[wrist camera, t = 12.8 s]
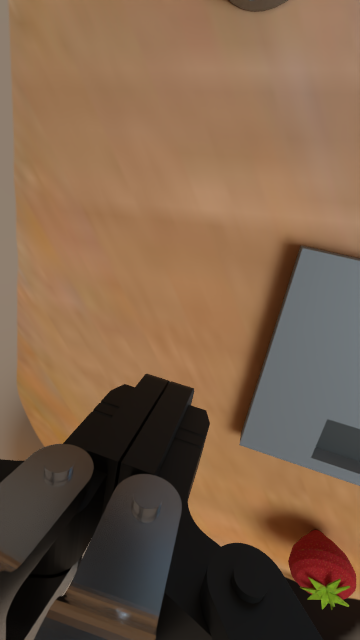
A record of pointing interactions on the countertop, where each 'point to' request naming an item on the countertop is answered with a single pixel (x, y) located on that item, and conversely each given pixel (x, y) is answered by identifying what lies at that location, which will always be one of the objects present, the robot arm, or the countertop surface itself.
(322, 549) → the strawberry
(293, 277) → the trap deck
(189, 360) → the countertop surface
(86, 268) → the countertop surface
